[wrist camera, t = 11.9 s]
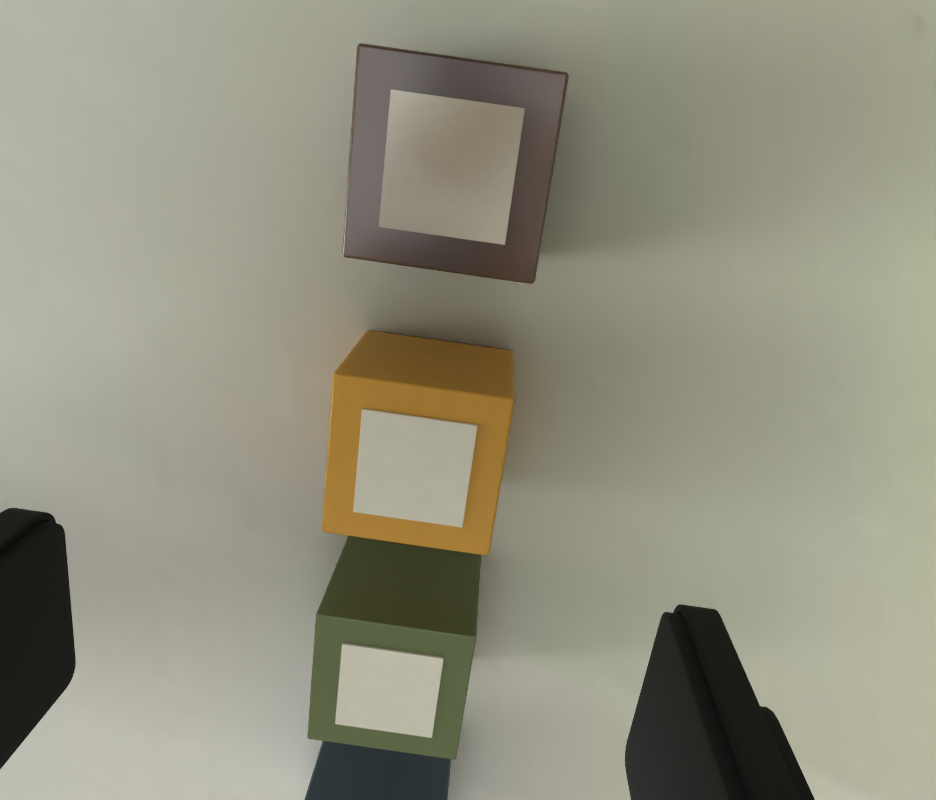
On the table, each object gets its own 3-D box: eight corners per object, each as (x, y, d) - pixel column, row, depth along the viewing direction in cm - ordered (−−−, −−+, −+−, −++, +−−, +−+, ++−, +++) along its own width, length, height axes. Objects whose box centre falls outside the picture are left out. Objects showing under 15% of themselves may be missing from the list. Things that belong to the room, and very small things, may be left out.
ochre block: (513, 350, 24) (515, 400, 19) (492, 482, 25) (488, 558, 21) (366, 329, 24) (331, 373, 19) (355, 462, 25) (320, 534, 21)
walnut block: (555, 90, 21) (569, 71, 16) (528, 257, 23) (534, 285, 18) (389, 67, 21) (356, 41, 16) (375, 235, 23) (340, 257, 18)
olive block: (481, 551, 26) (476, 638, 22) (464, 658, 28) (455, 763, 23) (349, 531, 26) (315, 615, 22) (340, 641, 28) (306, 741, 23)
